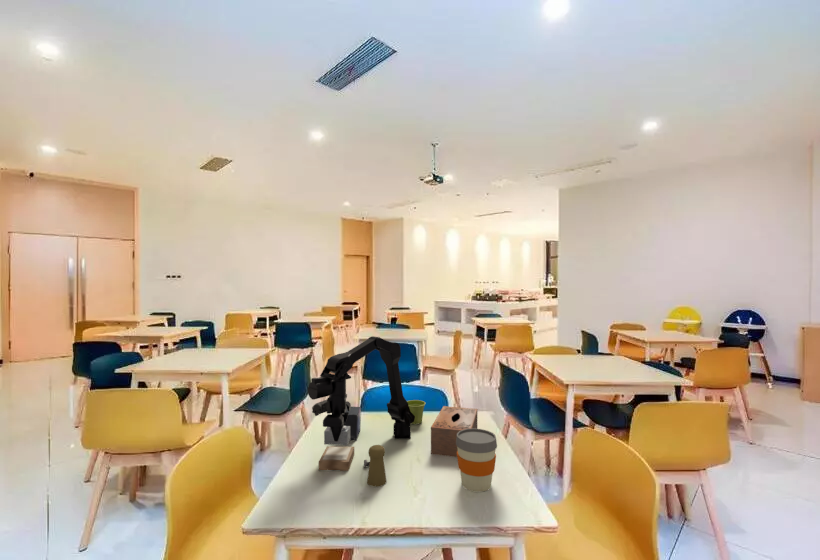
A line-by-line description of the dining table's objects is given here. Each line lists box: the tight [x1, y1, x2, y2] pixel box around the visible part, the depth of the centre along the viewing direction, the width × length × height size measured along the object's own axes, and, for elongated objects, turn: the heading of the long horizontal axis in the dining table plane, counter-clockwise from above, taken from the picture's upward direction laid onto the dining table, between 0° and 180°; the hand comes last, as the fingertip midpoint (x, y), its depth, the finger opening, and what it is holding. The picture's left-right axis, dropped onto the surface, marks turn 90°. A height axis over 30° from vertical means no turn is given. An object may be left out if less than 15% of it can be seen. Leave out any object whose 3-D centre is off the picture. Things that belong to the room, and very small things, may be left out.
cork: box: [366, 444, 387, 488], centre depth 122 cm, size 6×6×11 cm
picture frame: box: [318, 445, 355, 472], centre depth 135 cm, size 10×12×3 cm
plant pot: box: [406, 399, 426, 425], centre depth 175 cm, size 9×9×9 cm
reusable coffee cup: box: [456, 428, 498, 493], centre depth 121 cm, size 13×13×15 cm
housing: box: [323, 426, 351, 446], centre depth 135 cm, size 5×8×5 cm, turn 87°
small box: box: [344, 406, 362, 442], centre depth 159 cm, size 11×6×10 cm, turn 179°
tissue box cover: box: [430, 405, 478, 458], centre depth 153 cm, size 26×14×10 cm, turn 165°
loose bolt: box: [363, 459, 370, 468], centre depth 133 cm, size 6×2×2 cm, turn 109°
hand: (337, 438), depth 135 cm, fingers closed on housing, 5 cm apart
